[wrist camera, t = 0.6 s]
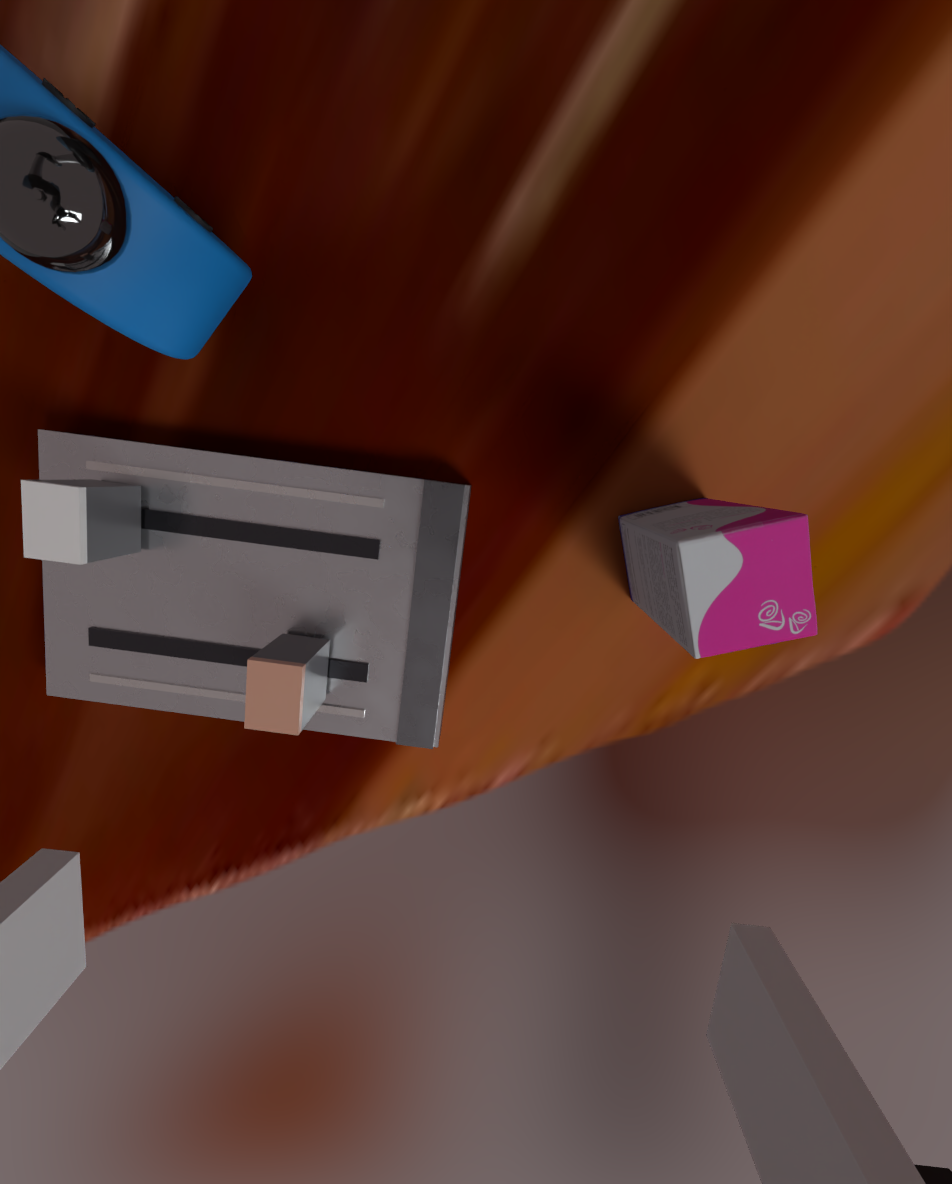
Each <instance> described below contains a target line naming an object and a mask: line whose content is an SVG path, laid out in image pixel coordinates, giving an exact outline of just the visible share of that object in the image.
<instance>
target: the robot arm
mask: <svg viewBox="0 0 952 1184" xmlns="http://www.w3.org/2000/svg"><path fill="white" fill-rule="evenodd" d="M85 967H86V955H85V939H84V922H83V906H82V889H81V873H80V856H79V852H70V851H61V850H51V849H41V850H39V851H38V852H37V853H36V854H35V855H33V856H32V857H31V858H30V859H29V860H27V861H26V862H25V863H24V864H22V865H21V866H20V867H19V868H18V869H16V870H15V871H14V872H13V873H12V874H10V875H9V876H8V877H7V878H5V879H4V880H3V881H2V882H1V883H0V1070H1V1068H2V1067H3V1066H4V1065H5V1064H6V1062H7V1061H8V1060H9V1059H10V1058H11V1056H12V1055H13V1054H14V1053H15V1052H16V1050H17V1049H18V1048H19V1047H20V1046H21V1044H22V1043H23V1042H24V1041H25V1039H26V1038H27V1037H28V1036H29V1035H30V1034H31V1032H32V1031H33V1030H34V1029H35V1027H36V1026H37V1025H38V1024H39V1023H40V1022H41V1020H42V1019H43V1018H44V1017H45V1015H46V1014H47V1013H48V1012H49V1010H50V1009H51V1008H52V1007H53V1006H54V1005H55V1003H56V1002H57V1001H58V1000H59V999H60V997H61V996H62V995H63V994H64V993H65V991H66V990H67V989H68V988H69V987H70V985H71V984H72V983H73V982H74V981H75V979H76V978H77V977H78V976H79V975H80V973H81V972H82V971H83V970H84V968H85ZM706 1035H707V1038H708V1041H709V1044H710V1047H711V1049H712V1052H713V1055H714V1057H715V1059H716V1063H717V1065H718V1068H719V1071H720V1073H721V1076H722V1078H723V1081H724V1084H725V1087H726V1089H727V1092H728V1095H729V1097H730V1100H731V1102H732V1105H733V1108H734V1111H735V1113H736V1116H737V1119H738V1121H739V1124H740V1127H741V1129H742V1132H743V1135H744V1137H745V1139H746V1143H747V1145H748V1148H749V1150H750V1153H751V1156H752V1159H753V1161H754V1164H755V1166H756V1169H757V1172H758V1174H759V1177H760V1180H761V1182H762V1184H952V1171H950V1169H948V1168H939V1167H931V1166H922V1165H914V1164H913V1162H912V1160H911V1159H910V1157H909V1156H908V1154H907V1152H906V1151H905V1149H904V1148H903V1146H902V1144H901V1142H900V1141H899V1139H898V1137H897V1136H896V1134H895V1133H894V1131H893V1129H892V1127H891V1126H890V1124H889V1123H888V1121H887V1119H886V1118H885V1116H884V1114H883V1113H882V1111H881V1109H880V1108H879V1106H878V1104H877V1103H876V1101H875V1100H874V1098H873V1096H872V1094H871V1093H870V1091H869V1090H868V1088H867V1086H866V1085H865V1083H864V1081H863V1080H862V1078H861V1076H860V1075H859V1073H858V1072H857V1070H856V1068H855V1066H854V1065H853V1063H852V1061H851V1060H850V1058H849V1057H848V1055H847V1053H846V1052H845V1050H844V1048H843V1047H842V1045H841V1043H840V1042H839V1040H838V1038H837V1037H836V1035H835V1033H834V1032H833V1030H832V1028H831V1027H830V1025H829V1024H828V1022H827V1020H826V1019H825V1017H824V1015H823V1014H822V1012H821V1010H820V1009H819V1007H818V1005H817V1004H816V1002H815V1000H814V999H813V997H812V995H811V994H810V992H809V990H808V989H807V987H806V986H805V984H804V982H803V981H802V979H801V977H800V976H799V974H798V972H797V971H796V969H795V967H794V966H793V964H792V962H791V961H790V959H789V957H788V956H787V954H786V953H785V951H784V949H783V948H782V946H781V944H780V943H779V941H778V939H777V938H776V936H775V934H774V933H773V931H772V930H771V928H770V927H764V926H755V925H746V924H737V923H731V927H730V931H729V936H728V940H727V945H726V949H725V954H724V958H723V963H722V967H721V972H720V977H719V981H718V985H717V990H716V994H715V998H714V1003H713V1007H712V1012H711V1016H710V1021H709V1025H708V1030H707V1034H706Z"/></svg>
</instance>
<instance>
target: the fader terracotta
mask: <svg viewBox="0 0 952 1184" xmlns="http://www.w3.org/2000/svg"><path fill="white" fill-rule="evenodd" d="M329 647H330V640H329V639H321V638H314V637H306V636H298V635H291V634H281V635H280V636H279V637H277V638H276V639H274V640H273V641H272V642H270V643H269V644H268V645H266V646H265V647H264V648H262V649H261V650H260V651H258V652H257V653H256V654H254V655H253V656H252V657H250V658H249V659H248V660H247V679H246V702H245V724H244V728H247V729H254V730H262V731H269V732H277V733H284V734H292V735H299V734H300V732H301V731H302V730H303V728H304V727H305V726H306V724H307V723H308V722H309V720H310V719H311V718H312V716H313V715H314V714H315V712H316V711H317V710H318V708H319V707H320V706H321V705H322V703H323V702H324V701H325V699H326V687H327V674H328V661H329Z"/></svg>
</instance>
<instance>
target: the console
mask: <svg viewBox="0 0 952 1184" xmlns="http://www.w3.org/2000/svg"><path fill="white" fill-rule="evenodd" d="M38 450H39V479H40V480H73V479H93V480H101V481H108V482H116V483H123V484H131V485H139V486H141V552H137V553H133V554H128V555H124V556H119V557H114V558H110V559H105V560H100V561H96V562H91V563H86V564H82V565H79V564H71V563H64V562H56V561H49V560H42V568H43V597H44V627H45V656H46V686H47V695H50V696H57V697H65V698H72V699H80V700H87V701H95V702H102V703H110V704H117V705H125V706H132V707H140V708H147V709H155V710H162V711H170V712H177V713H185V714H192V715H199V716H207V717H214V718H222V719H229V720H237V721H244V722H245V702H246V679H247V660H248V659H249V658H250V657H252V656H253V655H254V654H256V653H257V652H258V651H260V650H261V649H262V648H264V647H265V646H266V645H268V644H269V643H270V642H272V641H273V640H274V639H276V638H277V637H279V636H280V635H281V634H291V635H298V636H306V637H314V638H321V639H329V640H330V647H329V661H328V674H327V687H326V699H325V701H324V702H323V703H322V705H321V706H320V707H319V708H318V710H317V711H316V712H315V714H314V715H313V716H312V718H311V719H310V720H309V722H308V723H307V724H306V726H305V727H304V728H303V729H304V730H312V731H319V732H327V733H334V734H341V735H349V736H356V737H364V738H371V739H379V740H386V741H394V742H396V744H399V745H407V746H414V747H422V748H429V749H433V747H438V744H439V739H440V735H441V727H442V719H443V711H444V703H445V695H446V687H447V679H448V671H449V663H450V654H451V646H452V638H453V630H454V622H455V614H456V606H457V598H458V590H459V582H460V574H461V566H462V557H463V549H464V541H465V533H466V525H467V517H468V509H469V501H470V493H471V485H466V484H459V483H451V482H443V481H436V480H428V479H420V478H413V477H405V476H397V475H390V474H382V473H374V472H367V471H359V470H351V469H344V468H336V467H329V466H321V465H313V464H306V463H298V462H290V461H283V460H275V459H267V458H260V457H252V456H244V455H237V454H229V453H221V452H214V451H206V450H198V449H191V448H183V447H175V446H168V445H160V444H152V443H145V442H137V441H129V440H122V439H114V438H106V437H99V436H91V435H83V434H76V433H68V432H60V431H50V430H40V429H38Z"/></svg>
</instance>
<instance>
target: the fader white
mask: <svg viewBox="0 0 952 1184" xmlns="http://www.w3.org/2000/svg"><path fill="white" fill-rule="evenodd" d="M21 495H22V519H23V544H24V557H26V558H33V559H41V560H49V561H56V562H64V563H71V564H79V565H82V564H86V563H91V562H96V561H100V560H105V559H110V558H114V557H119V556H124V555H128V554H133V553H137V552H141V486H139V485H131V484H123V483H116V482H108V481H101V480H93V479H73V480H21Z"/></svg>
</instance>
